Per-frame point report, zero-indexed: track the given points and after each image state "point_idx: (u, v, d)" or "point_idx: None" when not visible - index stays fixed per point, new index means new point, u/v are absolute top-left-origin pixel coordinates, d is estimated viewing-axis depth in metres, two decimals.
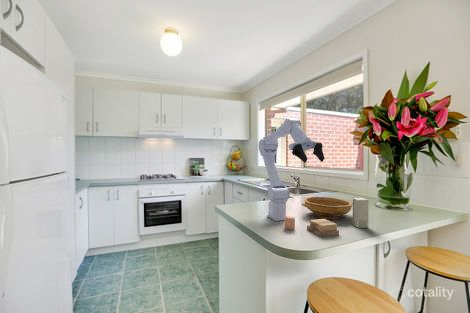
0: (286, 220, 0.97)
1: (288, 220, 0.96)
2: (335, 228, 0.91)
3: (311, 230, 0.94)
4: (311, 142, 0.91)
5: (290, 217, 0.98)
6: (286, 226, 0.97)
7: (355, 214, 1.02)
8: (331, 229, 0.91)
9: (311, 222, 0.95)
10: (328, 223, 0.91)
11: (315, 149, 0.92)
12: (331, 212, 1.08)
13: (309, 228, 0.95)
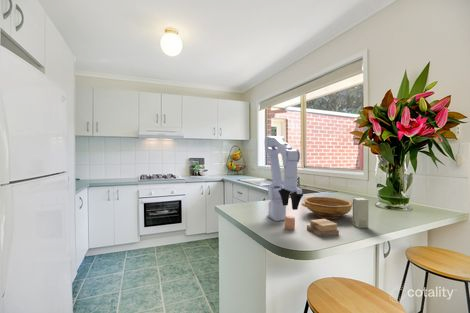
0: (286, 220, 0.97)
1: (288, 220, 0.96)
2: (335, 228, 0.91)
3: (311, 230, 0.94)
4: None
5: (290, 217, 0.98)
6: (286, 226, 0.97)
7: (355, 214, 1.02)
8: (331, 229, 0.90)
9: (311, 222, 0.95)
10: (328, 223, 0.91)
11: None
12: (331, 212, 1.08)
13: (309, 228, 0.95)
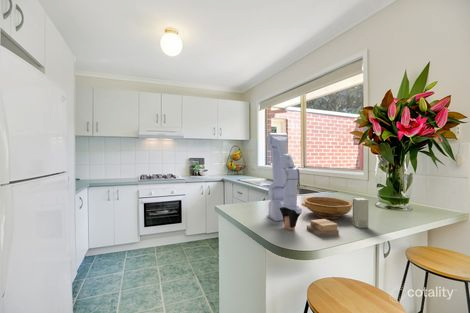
0: (286, 220, 0.97)
1: (288, 220, 0.96)
2: (336, 228, 0.91)
3: (311, 230, 0.94)
4: None
5: None
6: (286, 226, 0.97)
7: (355, 214, 1.02)
8: (332, 229, 0.90)
9: (312, 222, 0.95)
10: (328, 223, 0.91)
11: None
12: (331, 212, 1.08)
13: (309, 228, 0.95)
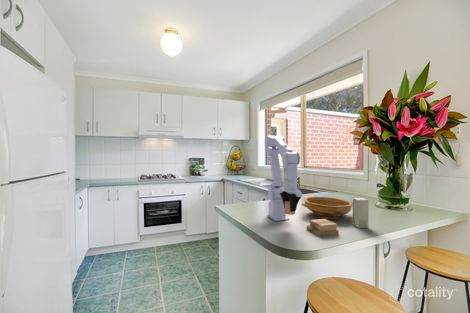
0: (286, 204, 0.97)
1: (288, 204, 0.96)
2: (335, 228, 0.91)
3: (311, 230, 0.94)
4: (289, 192, 0.95)
5: None
6: (286, 210, 0.97)
7: (355, 214, 1.02)
8: (331, 229, 0.91)
9: (311, 222, 0.95)
10: (328, 223, 0.91)
11: None
12: (331, 212, 1.08)
13: (309, 228, 0.95)
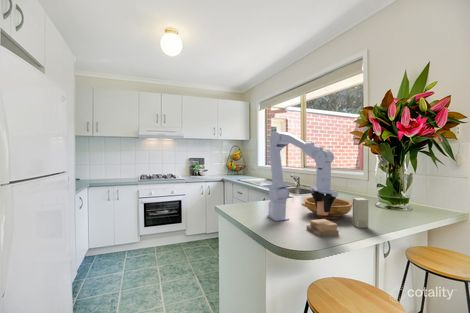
0: (319, 205, 0.92)
1: (321, 205, 0.92)
2: (335, 228, 0.91)
3: (311, 230, 0.94)
4: (323, 191, 0.91)
5: (323, 202, 0.94)
6: (319, 211, 0.92)
7: (355, 214, 1.02)
8: (331, 229, 0.90)
9: (311, 222, 0.95)
10: (328, 224, 0.91)
11: None
12: (331, 212, 1.08)
13: (309, 228, 0.95)
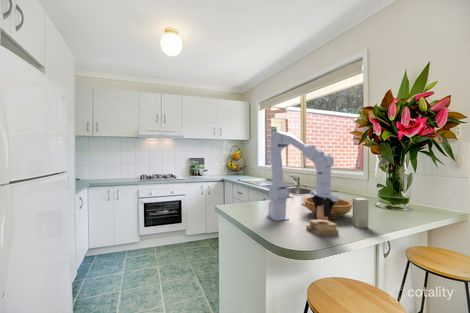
0: (319, 209, 0.92)
1: (321, 209, 0.92)
2: (335, 228, 0.91)
3: (310, 230, 0.94)
4: (323, 196, 0.91)
5: None
6: (319, 215, 0.92)
7: (355, 214, 1.02)
8: (331, 229, 0.90)
9: (311, 222, 0.95)
10: (327, 223, 0.91)
11: None
12: (331, 212, 1.08)
13: (308, 228, 0.95)
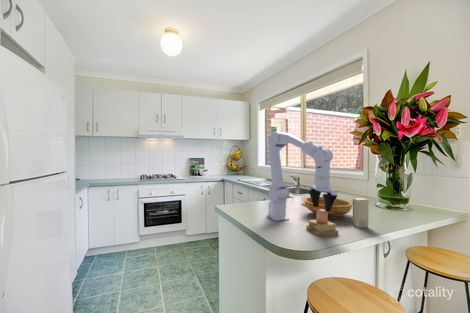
0: (318, 213, 0.93)
1: (321, 213, 0.92)
2: (334, 228, 0.91)
3: (310, 230, 0.94)
4: (322, 190, 0.91)
5: (322, 210, 0.94)
6: (318, 219, 0.93)
7: (355, 214, 1.02)
8: (330, 229, 0.91)
9: (310, 222, 0.95)
10: (327, 223, 0.92)
11: None
12: (331, 212, 1.08)
13: (308, 228, 0.95)
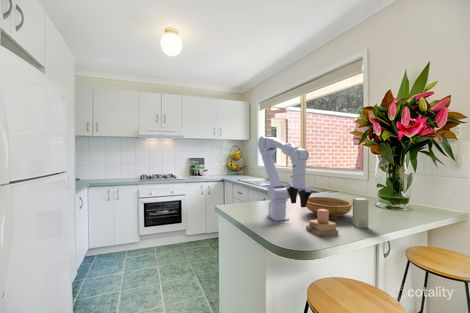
0: (320, 213, 0.93)
1: (322, 213, 0.92)
2: (334, 228, 0.92)
3: (310, 230, 0.94)
4: (297, 187, 0.98)
5: (323, 210, 0.94)
6: (320, 219, 0.93)
7: (355, 214, 1.02)
8: (331, 229, 0.91)
9: (310, 222, 0.95)
10: (327, 223, 0.92)
11: None
12: (331, 212, 1.08)
13: (308, 228, 0.95)
